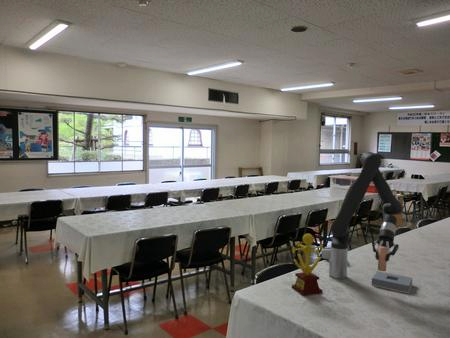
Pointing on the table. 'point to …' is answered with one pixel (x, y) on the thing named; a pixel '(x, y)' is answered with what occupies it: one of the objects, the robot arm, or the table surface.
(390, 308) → the table surface
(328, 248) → the hinge
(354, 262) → the table surface
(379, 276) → the socket block
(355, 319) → the table surface
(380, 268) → the peg
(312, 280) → the trophy
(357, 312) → the table surface
